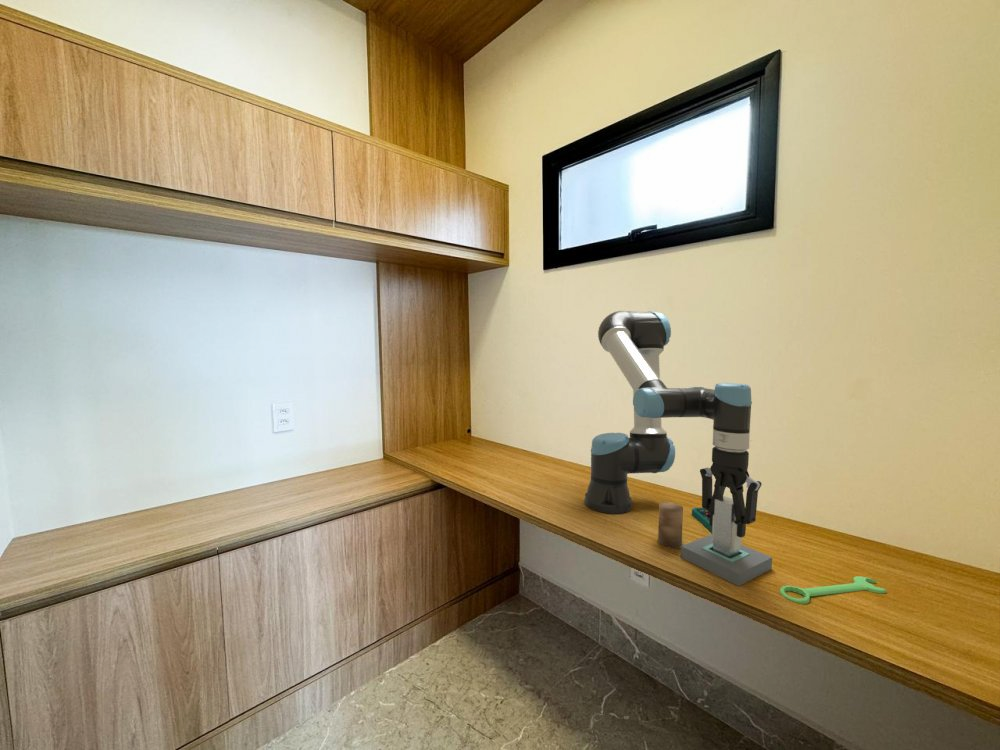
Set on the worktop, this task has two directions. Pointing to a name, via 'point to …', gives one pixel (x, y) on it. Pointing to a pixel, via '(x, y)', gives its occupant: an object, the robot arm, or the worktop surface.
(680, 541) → the round dowel
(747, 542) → the worktop surface
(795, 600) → the wrench
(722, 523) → the square bit
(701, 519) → the digital multimeter
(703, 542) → the socket plate
